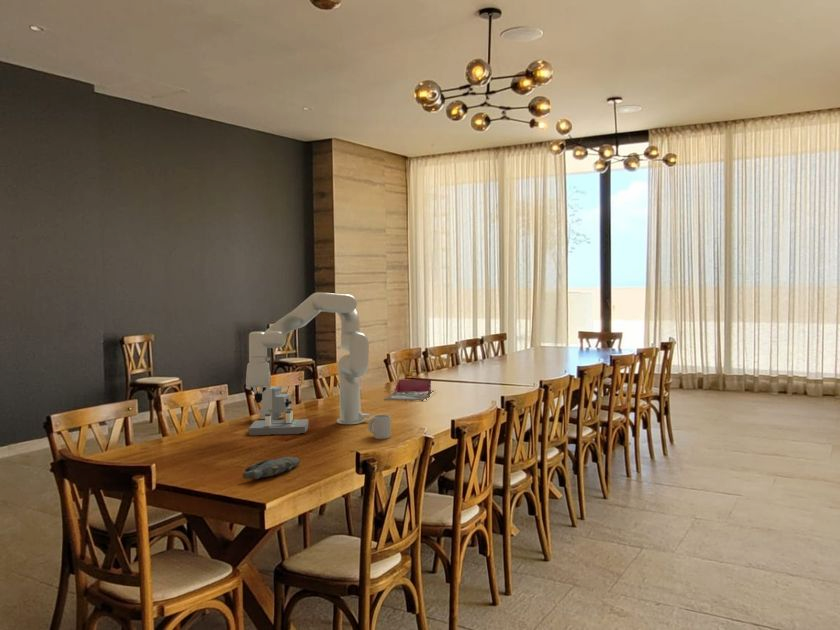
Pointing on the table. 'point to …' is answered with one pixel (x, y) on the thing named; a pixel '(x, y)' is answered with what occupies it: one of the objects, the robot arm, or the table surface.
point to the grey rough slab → (270, 467)
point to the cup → (380, 426)
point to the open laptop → (411, 390)
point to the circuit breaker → (274, 402)
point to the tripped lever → (267, 419)
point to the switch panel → (279, 427)
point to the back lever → (291, 412)
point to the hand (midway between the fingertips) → (258, 402)
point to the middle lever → (288, 416)
